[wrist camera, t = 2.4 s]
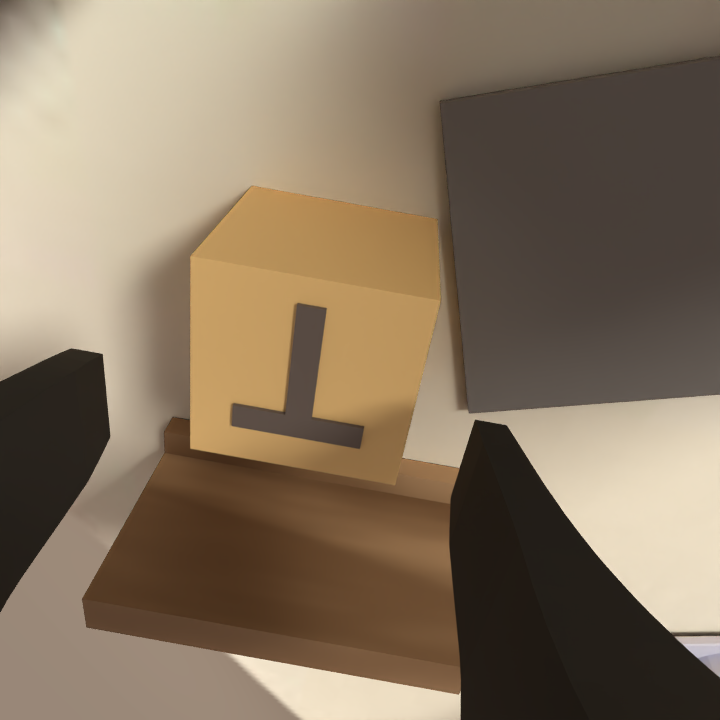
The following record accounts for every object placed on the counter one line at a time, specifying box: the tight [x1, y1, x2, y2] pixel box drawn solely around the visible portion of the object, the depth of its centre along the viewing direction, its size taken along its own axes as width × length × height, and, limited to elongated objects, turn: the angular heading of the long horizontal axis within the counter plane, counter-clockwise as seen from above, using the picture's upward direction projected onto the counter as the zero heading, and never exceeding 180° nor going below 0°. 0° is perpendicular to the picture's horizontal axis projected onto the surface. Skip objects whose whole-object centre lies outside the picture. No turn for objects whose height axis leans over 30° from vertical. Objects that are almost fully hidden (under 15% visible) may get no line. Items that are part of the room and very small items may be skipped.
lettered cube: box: [190, 186, 441, 485], centre depth 15 cm, size 5×5×5 cm
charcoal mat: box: [440, 56, 720, 413], centre depth 16 cm, size 9×9×1 cm
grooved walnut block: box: [82, 417, 461, 694], centre depth 19 cm, size 3×10×6 cm, turn 81°
